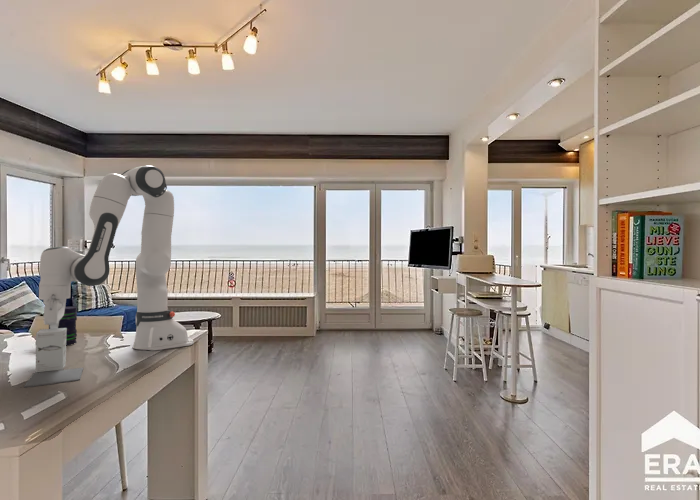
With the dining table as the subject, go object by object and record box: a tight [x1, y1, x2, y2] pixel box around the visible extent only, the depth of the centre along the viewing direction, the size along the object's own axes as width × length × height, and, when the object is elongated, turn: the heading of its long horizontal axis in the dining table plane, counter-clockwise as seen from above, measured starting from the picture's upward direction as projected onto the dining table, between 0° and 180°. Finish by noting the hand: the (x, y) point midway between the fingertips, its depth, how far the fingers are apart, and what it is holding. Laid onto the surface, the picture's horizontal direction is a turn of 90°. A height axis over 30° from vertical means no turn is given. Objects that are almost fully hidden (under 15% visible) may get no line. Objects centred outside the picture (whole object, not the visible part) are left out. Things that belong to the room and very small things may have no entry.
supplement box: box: [34, 328, 67, 373], centre depth 133 cm, size 7×7×13 cm
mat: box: [23, 367, 84, 388], centre depth 124 cm, size 13×14×1 cm
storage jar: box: [48, 305, 78, 346], centre depth 169 cm, size 10×10×15 cm
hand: (54, 333), depth 141 cm, fingers closed
